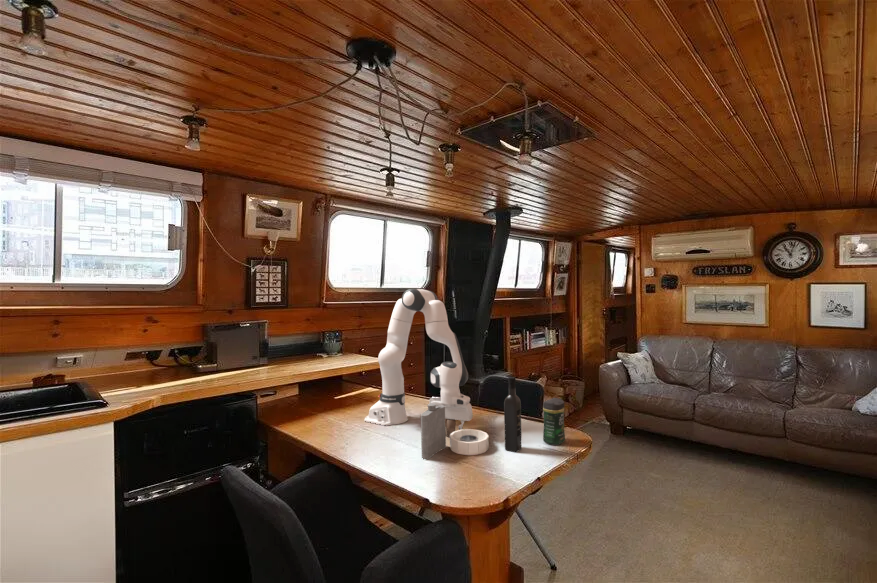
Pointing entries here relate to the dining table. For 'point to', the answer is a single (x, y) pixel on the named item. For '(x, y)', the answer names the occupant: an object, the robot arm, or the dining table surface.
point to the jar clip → (469, 438)
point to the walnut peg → (450, 426)
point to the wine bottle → (512, 418)
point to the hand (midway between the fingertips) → (450, 428)
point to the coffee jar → (553, 421)
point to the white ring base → (469, 447)
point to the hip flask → (433, 430)
